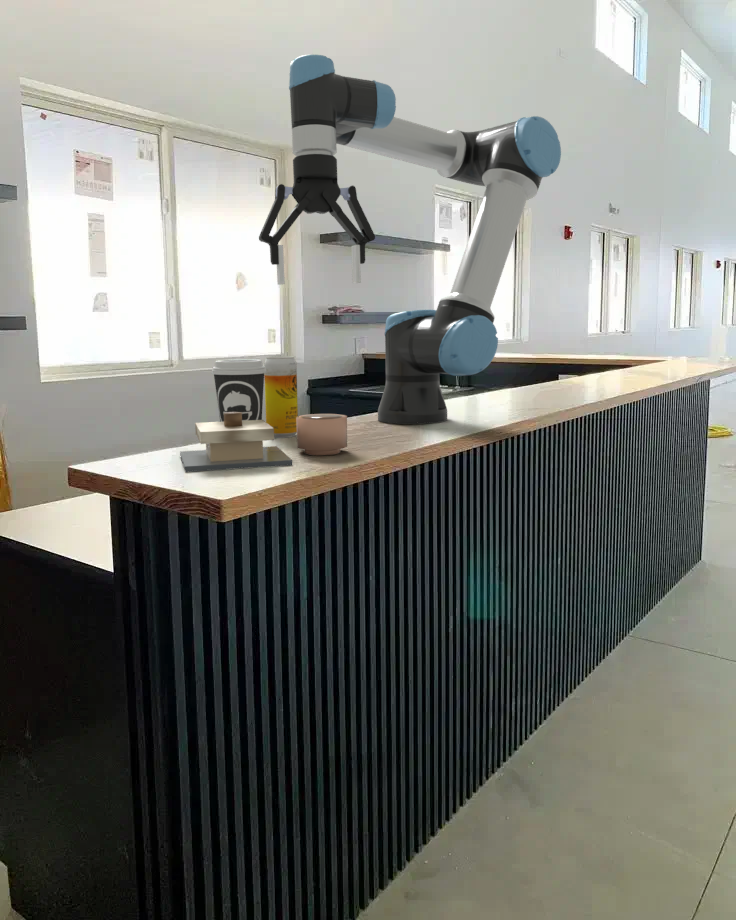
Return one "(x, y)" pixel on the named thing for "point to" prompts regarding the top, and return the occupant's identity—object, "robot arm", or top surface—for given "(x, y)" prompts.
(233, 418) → the lid
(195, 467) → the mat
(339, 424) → the bowl
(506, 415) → the top surface
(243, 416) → the coffee cup
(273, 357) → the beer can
